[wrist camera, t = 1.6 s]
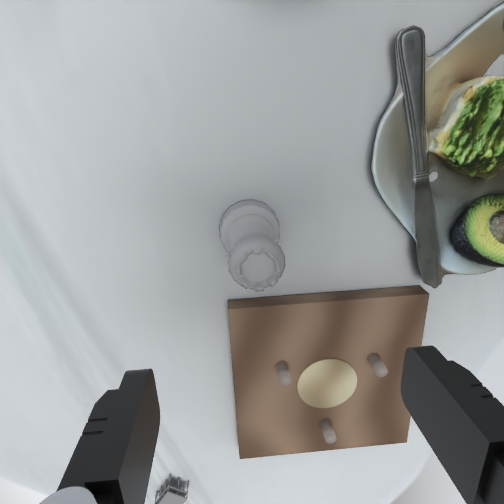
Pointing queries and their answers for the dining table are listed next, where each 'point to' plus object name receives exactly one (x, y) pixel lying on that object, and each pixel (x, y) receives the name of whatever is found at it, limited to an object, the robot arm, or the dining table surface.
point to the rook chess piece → (252, 244)
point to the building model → (172, 494)
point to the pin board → (323, 368)
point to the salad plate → (447, 150)
